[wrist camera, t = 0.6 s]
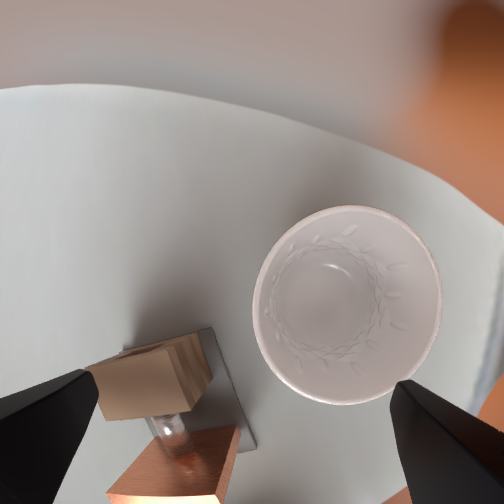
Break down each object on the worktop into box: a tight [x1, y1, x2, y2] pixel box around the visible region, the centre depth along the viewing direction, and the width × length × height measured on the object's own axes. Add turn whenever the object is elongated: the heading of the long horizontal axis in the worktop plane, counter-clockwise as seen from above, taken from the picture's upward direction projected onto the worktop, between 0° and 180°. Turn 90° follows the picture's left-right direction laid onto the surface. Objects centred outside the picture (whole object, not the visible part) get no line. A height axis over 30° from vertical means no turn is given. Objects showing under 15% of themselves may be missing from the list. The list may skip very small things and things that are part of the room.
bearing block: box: [85, 327, 257, 454], centre depth 16 cm, size 10×8×7 cm
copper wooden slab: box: [106, 413, 241, 504], centre depth 14 cm, size 5×7×9 cm
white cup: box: [252, 205, 442, 405], centre depth 15 cm, size 8×8×10 cm
